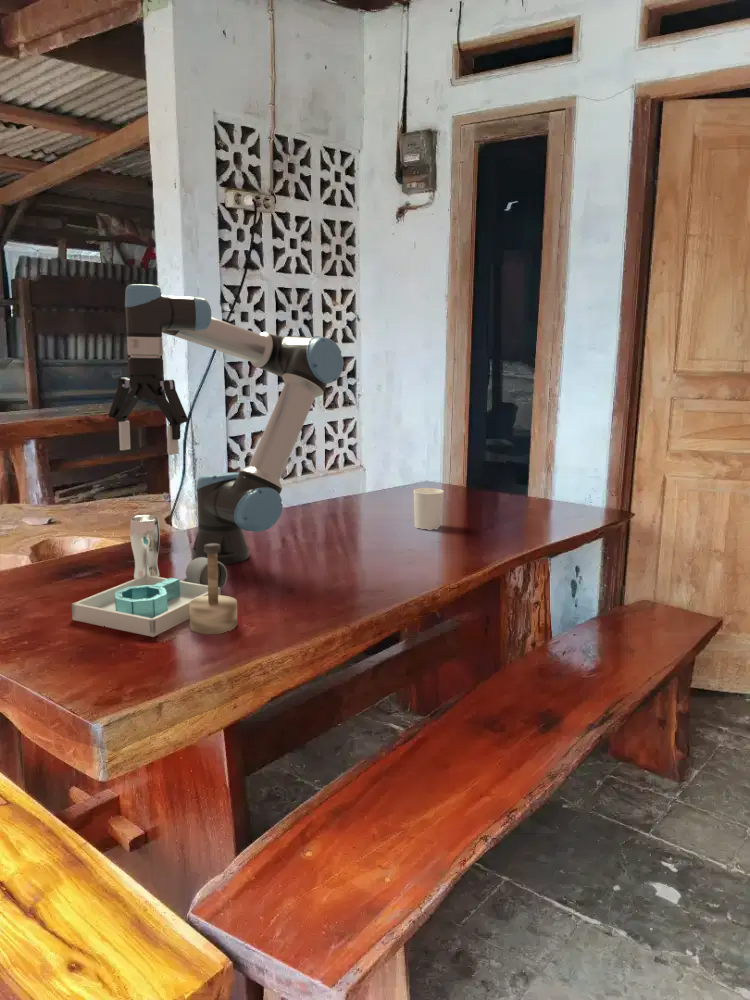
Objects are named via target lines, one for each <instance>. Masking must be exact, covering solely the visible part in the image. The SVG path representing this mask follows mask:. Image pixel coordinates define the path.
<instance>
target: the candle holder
mask: <svg viewBox="0 0 750 1000" xmlns="http://www.w3.org/2000/svg"><path fill="white" fill-rule="evenodd" d="M412 492H413V520H414V528H415V527H416V528H415V529H417V528H421V529H435V528H439V527H440V528H441V523H442V514H443V504H444V494H445V490H443V489H440V488H435V487H434V488H433V487H419V488H415V489H413V491H412ZM440 528H439V529H440ZM421 529H420V530H421Z"/></svg>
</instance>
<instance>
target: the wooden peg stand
mask: <svg viewBox="0 0 750 1000" xmlns="http://www.w3.org/2000/svg"><path fill="white" fill-rule="evenodd" d="M204 552H205V553H207V564H208V596H203V597H199V598H196V599H194V600H192V601H191V602H190V604H189V607H190V618H189V627H190V630H191V631H193V632H194V633H197V634H202V635H220V634H225V633H228V632H227V631H229V632H231V631H233V630H235V629H236V628H237V627H238V600H237V599H236V598H234V597H233V596H228V595H223V594H222V595H221V594H220V595H218V563H217V553H218V552H220V544H215V543H211V544H206V545H204ZM236 626H237V627H236ZM235 627H236V628H235ZM234 628H235V629H234ZM232 629H233V630H232ZM230 630H231V631H230ZM224 632H225V633H224Z"/></svg>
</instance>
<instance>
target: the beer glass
mask: <svg viewBox="0 0 750 1000" xmlns="http://www.w3.org/2000/svg"><path fill="white" fill-rule="evenodd" d="M160 531H161V530H160V523H159V517H158V516H157V515H149V514H142V515H141V514H140V515H135V516H132V517H130V525H129V536H130V539H129V540H130V544H131V550H132V554H133V558H134V573H133V579H136V578H138V577H141V576H143V575H150V576H156V577H160V571H159V567H158V557H159V550H160V540H161V532H160Z"/></svg>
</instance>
